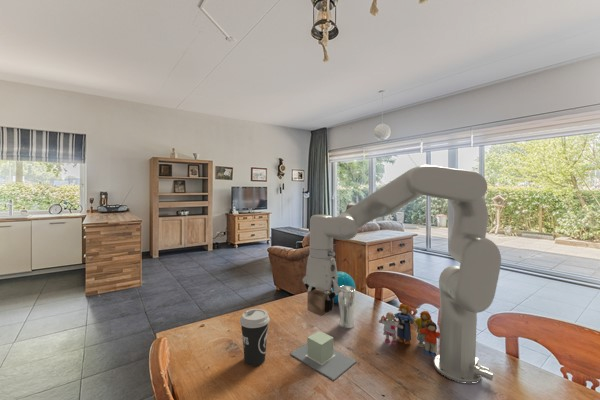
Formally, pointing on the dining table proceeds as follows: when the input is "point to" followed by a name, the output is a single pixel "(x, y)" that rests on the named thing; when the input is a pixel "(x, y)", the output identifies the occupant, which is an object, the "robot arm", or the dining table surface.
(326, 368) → the felt mat
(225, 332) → the dining table surface
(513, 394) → the dining table surface
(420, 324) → the doll family
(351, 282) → the decorative orb
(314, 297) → the walnut block
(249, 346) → the coffee cup
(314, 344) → the sage block
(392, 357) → the dining table surface
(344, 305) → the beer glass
